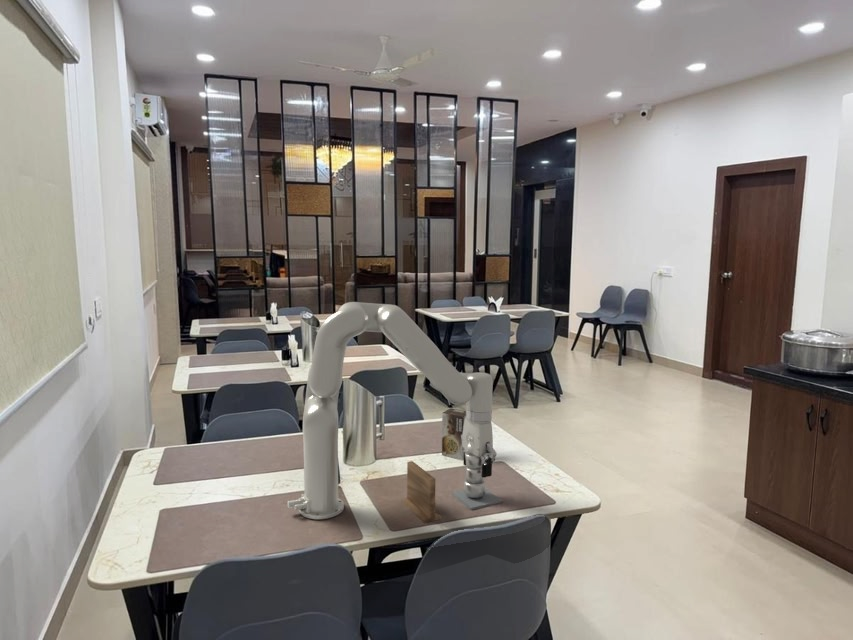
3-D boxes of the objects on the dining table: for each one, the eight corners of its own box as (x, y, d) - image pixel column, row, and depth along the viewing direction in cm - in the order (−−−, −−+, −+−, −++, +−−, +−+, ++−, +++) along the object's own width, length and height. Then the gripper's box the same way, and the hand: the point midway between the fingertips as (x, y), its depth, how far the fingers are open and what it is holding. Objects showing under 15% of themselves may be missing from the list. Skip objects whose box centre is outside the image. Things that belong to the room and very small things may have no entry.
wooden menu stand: (424, 522, 153) (424, 481, 151) (401, 501, 165) (402, 462, 164) (440, 518, 155) (440, 477, 154) (416, 498, 168) (417, 460, 166)
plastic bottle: (484, 502, 164) (487, 436, 162) (461, 499, 166) (463, 434, 163) (486, 492, 171) (489, 429, 168) (464, 490, 172) (466, 427, 169)
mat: (470, 509, 161) (470, 507, 161) (451, 494, 170) (451, 492, 170) (502, 502, 166) (502, 500, 166) (481, 487, 176) (481, 485, 176)
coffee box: (471, 455, 202) (472, 411, 200) (463, 460, 197) (464, 416, 195) (449, 449, 207) (450, 407, 205) (440, 455, 202) (441, 411, 200)
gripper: (452, 408, 170) (451, 462, 173) (484, 425, 155) (483, 483, 158) (473, 405, 174) (471, 458, 176) (506, 421, 159) (504, 479, 161)
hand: (477, 470), depth 167 cm, fingers open, 9 cm apart
